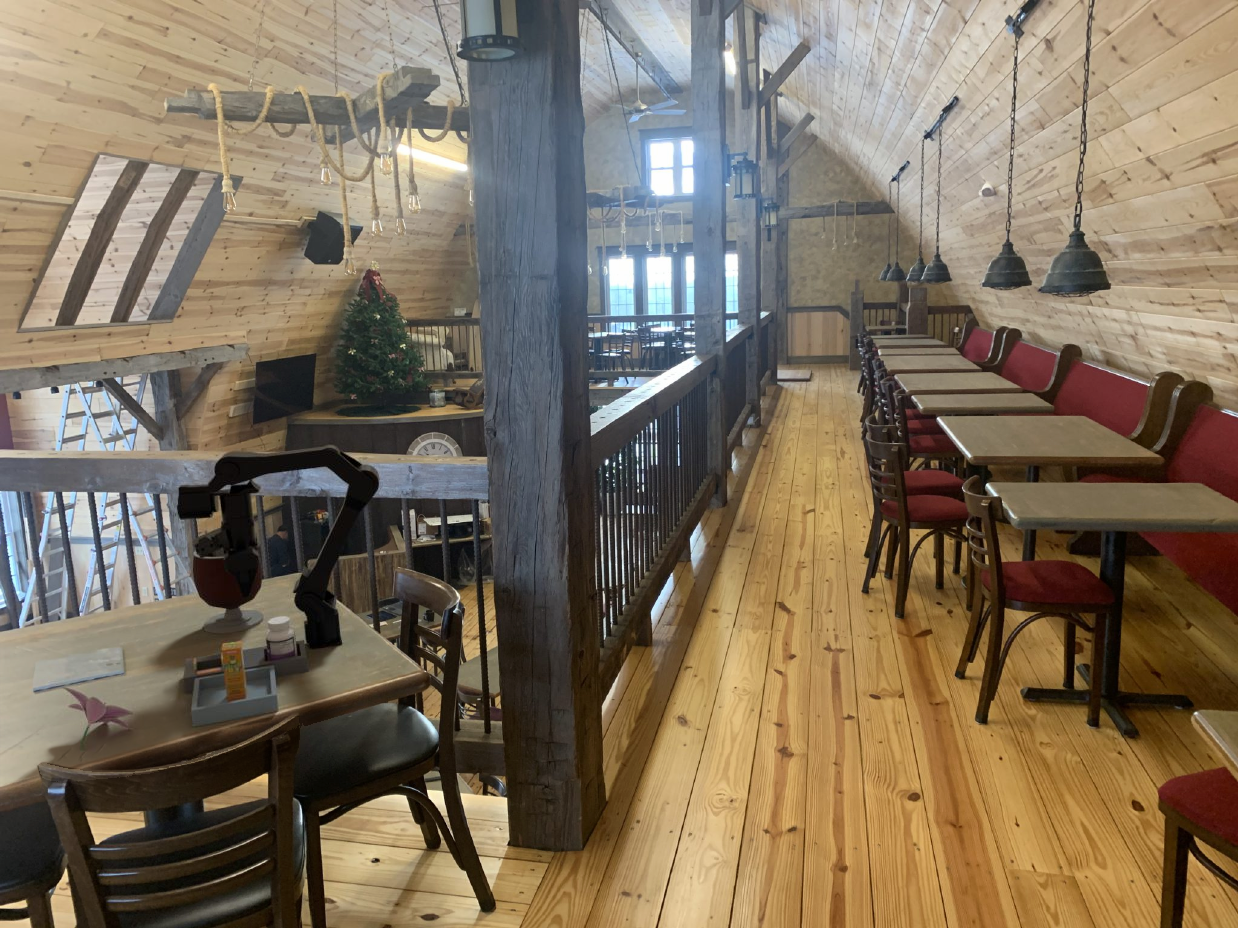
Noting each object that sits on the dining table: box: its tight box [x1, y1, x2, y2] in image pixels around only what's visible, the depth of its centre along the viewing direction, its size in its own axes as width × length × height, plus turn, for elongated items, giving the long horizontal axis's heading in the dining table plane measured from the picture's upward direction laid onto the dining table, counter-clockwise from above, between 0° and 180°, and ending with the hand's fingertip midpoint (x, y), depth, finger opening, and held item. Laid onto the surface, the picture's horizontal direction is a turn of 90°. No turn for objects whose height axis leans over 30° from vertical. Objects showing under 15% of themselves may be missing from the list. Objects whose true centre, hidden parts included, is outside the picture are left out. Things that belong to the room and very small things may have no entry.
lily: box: [62, 686, 135, 750], centre depth 147 cm, size 12×12×10 cm
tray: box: [190, 665, 279, 728], centre depth 159 cm, size 14×14×3 cm
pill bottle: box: [265, 615, 297, 661], centre depth 173 cm, size 5×5×10 cm
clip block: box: [182, 639, 309, 694], centre depth 171 cm, size 22×9×4 cm, turn 113°
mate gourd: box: [192, 529, 265, 634], centre depth 196 cm, size 16×14×20 cm
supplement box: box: [221, 640, 247, 701], centre depth 159 cm, size 3×3×10 cm
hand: (245, 589), depth 180 cm, fingers open, 9 cm apart
